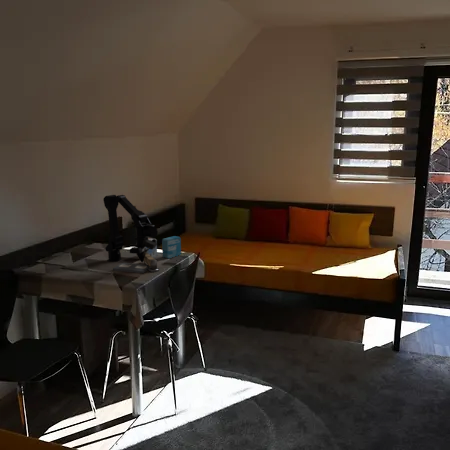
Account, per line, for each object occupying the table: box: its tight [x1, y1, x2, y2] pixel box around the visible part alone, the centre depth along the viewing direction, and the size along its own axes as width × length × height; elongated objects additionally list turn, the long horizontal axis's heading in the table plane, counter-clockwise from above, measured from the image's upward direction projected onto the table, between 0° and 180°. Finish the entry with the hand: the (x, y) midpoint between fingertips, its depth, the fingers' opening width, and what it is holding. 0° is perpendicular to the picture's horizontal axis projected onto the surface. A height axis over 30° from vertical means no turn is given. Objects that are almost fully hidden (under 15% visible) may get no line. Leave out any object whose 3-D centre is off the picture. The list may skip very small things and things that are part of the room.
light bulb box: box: [146, 237, 158, 258], centre depth 299 cm, size 11×7×11 cm, turn 148°
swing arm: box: [143, 252, 158, 269], centre depth 278 cm, size 21×4×5 cm, turn 25°
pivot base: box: [148, 267, 160, 273], centre depth 271 cm, size 6×6×1 cm
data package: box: [161, 235, 182, 259], centre depth 300 cm, size 12×4×12 cm, turn 141°
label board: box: [112, 262, 151, 274], centre depth 275 cm, size 19×12×1 cm, turn 74°
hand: (142, 262), depth 278 cm, fingers closed
